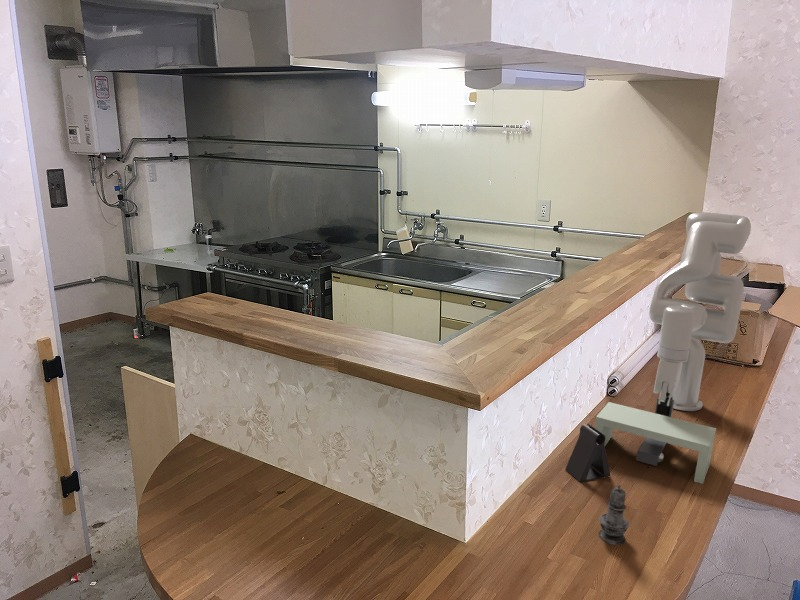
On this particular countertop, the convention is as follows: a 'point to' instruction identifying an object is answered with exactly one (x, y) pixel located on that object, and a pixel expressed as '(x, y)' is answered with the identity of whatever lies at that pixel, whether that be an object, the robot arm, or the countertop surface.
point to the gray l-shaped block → (652, 445)
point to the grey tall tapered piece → (614, 518)
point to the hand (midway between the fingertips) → (663, 416)
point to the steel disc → (660, 457)
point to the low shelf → (659, 431)
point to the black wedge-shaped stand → (589, 456)
